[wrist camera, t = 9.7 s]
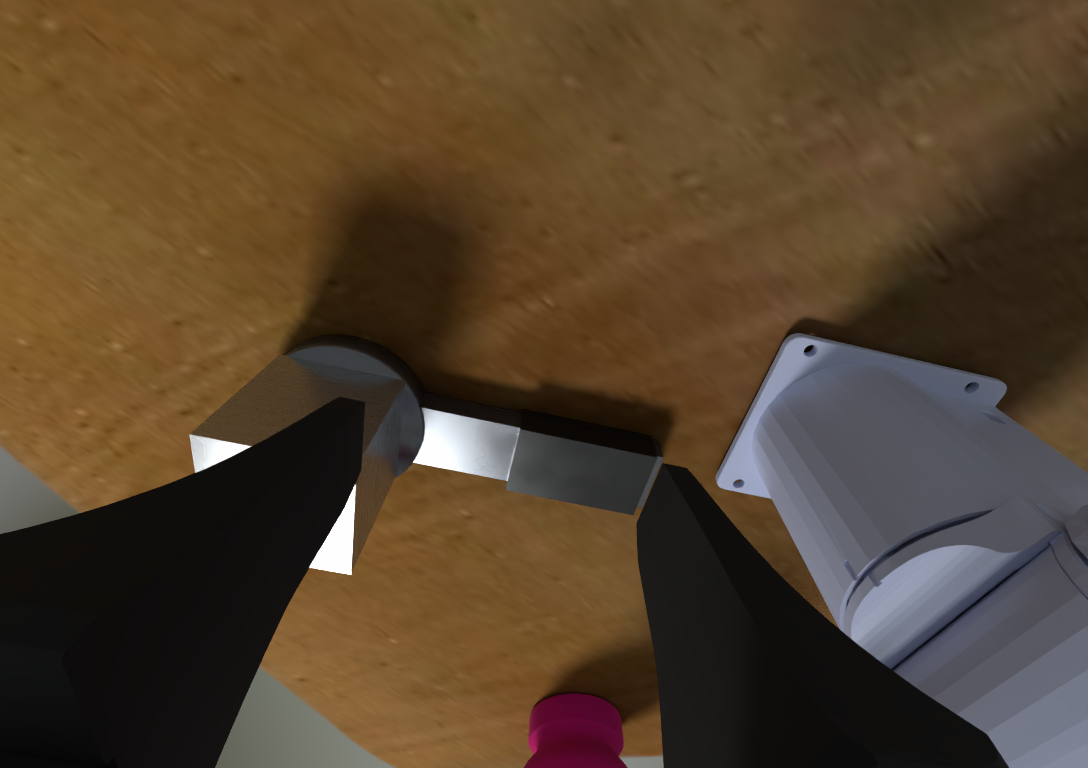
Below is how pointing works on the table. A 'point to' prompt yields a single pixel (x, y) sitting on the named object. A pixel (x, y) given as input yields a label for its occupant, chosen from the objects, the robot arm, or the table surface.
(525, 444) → the ratchet
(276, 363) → the metal cube
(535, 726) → the pepper mill
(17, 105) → the table surface
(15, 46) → the table surface
